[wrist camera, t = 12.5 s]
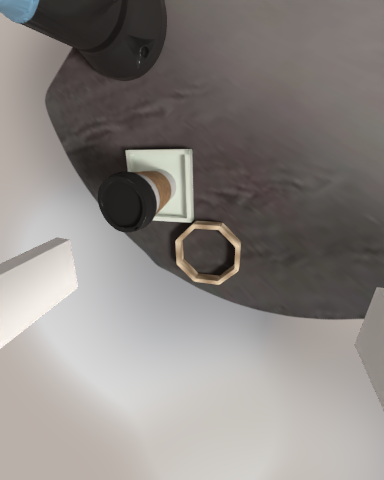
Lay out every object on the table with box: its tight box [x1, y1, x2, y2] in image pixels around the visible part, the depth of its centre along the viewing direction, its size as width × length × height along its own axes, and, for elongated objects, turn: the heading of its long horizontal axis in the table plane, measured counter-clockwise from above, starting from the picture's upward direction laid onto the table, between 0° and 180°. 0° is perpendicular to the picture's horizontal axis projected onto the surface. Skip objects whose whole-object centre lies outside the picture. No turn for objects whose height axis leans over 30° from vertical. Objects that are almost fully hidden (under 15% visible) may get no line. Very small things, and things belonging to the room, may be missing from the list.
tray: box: [125, 149, 194, 223], centre depth 46 cm, size 13×12×2 cm
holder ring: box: [175, 221, 241, 285], centre depth 48 cm, size 13×13×2 cm
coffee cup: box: [98, 170, 176, 232], centre depth 39 cm, size 8×8×15 cm
